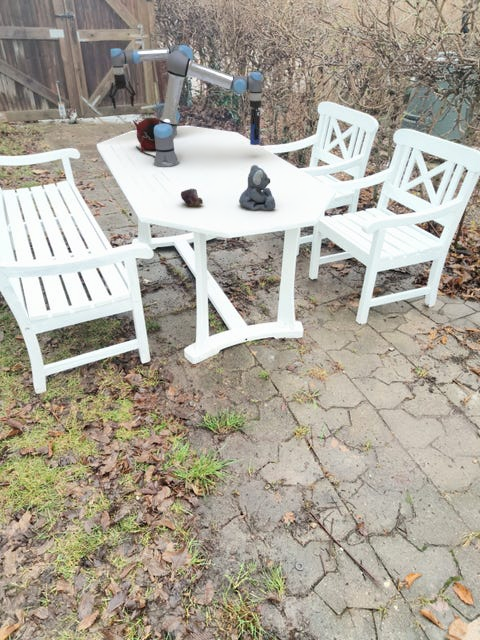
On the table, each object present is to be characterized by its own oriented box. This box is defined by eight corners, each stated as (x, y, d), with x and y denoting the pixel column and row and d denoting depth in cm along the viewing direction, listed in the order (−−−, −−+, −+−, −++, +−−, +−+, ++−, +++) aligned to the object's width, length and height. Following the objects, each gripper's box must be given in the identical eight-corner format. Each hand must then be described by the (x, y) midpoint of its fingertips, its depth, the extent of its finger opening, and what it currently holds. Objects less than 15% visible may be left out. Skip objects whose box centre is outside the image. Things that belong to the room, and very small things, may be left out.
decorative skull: (136, 123, 331) (129, 120, 308) (167, 116, 330) (163, 112, 307) (144, 153, 338) (138, 152, 315) (174, 146, 337) (171, 145, 314)
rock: (196, 202, 238) (178, 205, 233) (194, 185, 234) (176, 188, 230) (205, 205, 228) (187, 208, 224) (203, 188, 224) (185, 191, 220)
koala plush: (276, 211, 223) (277, 171, 212) (240, 212, 222) (240, 172, 211) (271, 199, 237) (272, 161, 226) (237, 200, 236) (237, 162, 225)
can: (253, 145, 297) (253, 125, 290) (248, 143, 301) (248, 123, 294) (261, 144, 300) (261, 124, 293) (255, 142, 304) (256, 122, 297)
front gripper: (265, 102, 279) (264, 141, 292) (257, 97, 294) (256, 134, 307) (253, 102, 277) (253, 142, 290) (246, 98, 292) (245, 135, 306)
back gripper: (103, 75, 307) (109, 109, 319) (137, 73, 319) (141, 106, 331) (100, 74, 313) (105, 108, 325) (133, 72, 324) (137, 104, 336)
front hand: (254, 138), depth 299 cm, fingers closed on can, 6 cm apart
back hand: (123, 107), depth 328 cm, fingers open, 13 cm apart
